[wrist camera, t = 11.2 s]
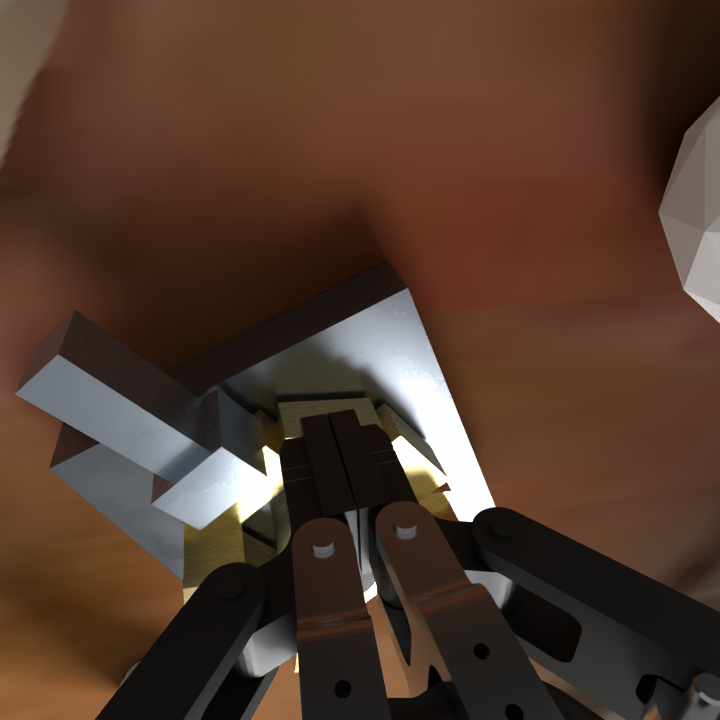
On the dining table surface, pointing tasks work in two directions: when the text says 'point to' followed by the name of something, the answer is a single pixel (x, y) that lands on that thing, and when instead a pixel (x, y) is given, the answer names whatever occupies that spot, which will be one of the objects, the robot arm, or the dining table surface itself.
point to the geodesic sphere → (696, 211)
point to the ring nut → (198, 441)
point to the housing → (293, 384)
